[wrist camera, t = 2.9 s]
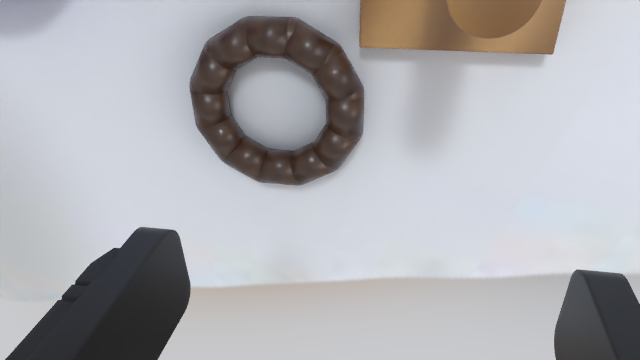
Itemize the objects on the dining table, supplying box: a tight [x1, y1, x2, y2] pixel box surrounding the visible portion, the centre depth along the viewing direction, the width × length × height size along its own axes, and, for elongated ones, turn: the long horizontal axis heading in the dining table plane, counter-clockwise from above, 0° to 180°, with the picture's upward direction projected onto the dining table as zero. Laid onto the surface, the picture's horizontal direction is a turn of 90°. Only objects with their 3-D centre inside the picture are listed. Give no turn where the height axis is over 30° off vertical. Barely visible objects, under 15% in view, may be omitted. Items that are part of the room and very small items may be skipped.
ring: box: [190, 16, 364, 185], centre depth 26 cm, size 10×10×2 cm
